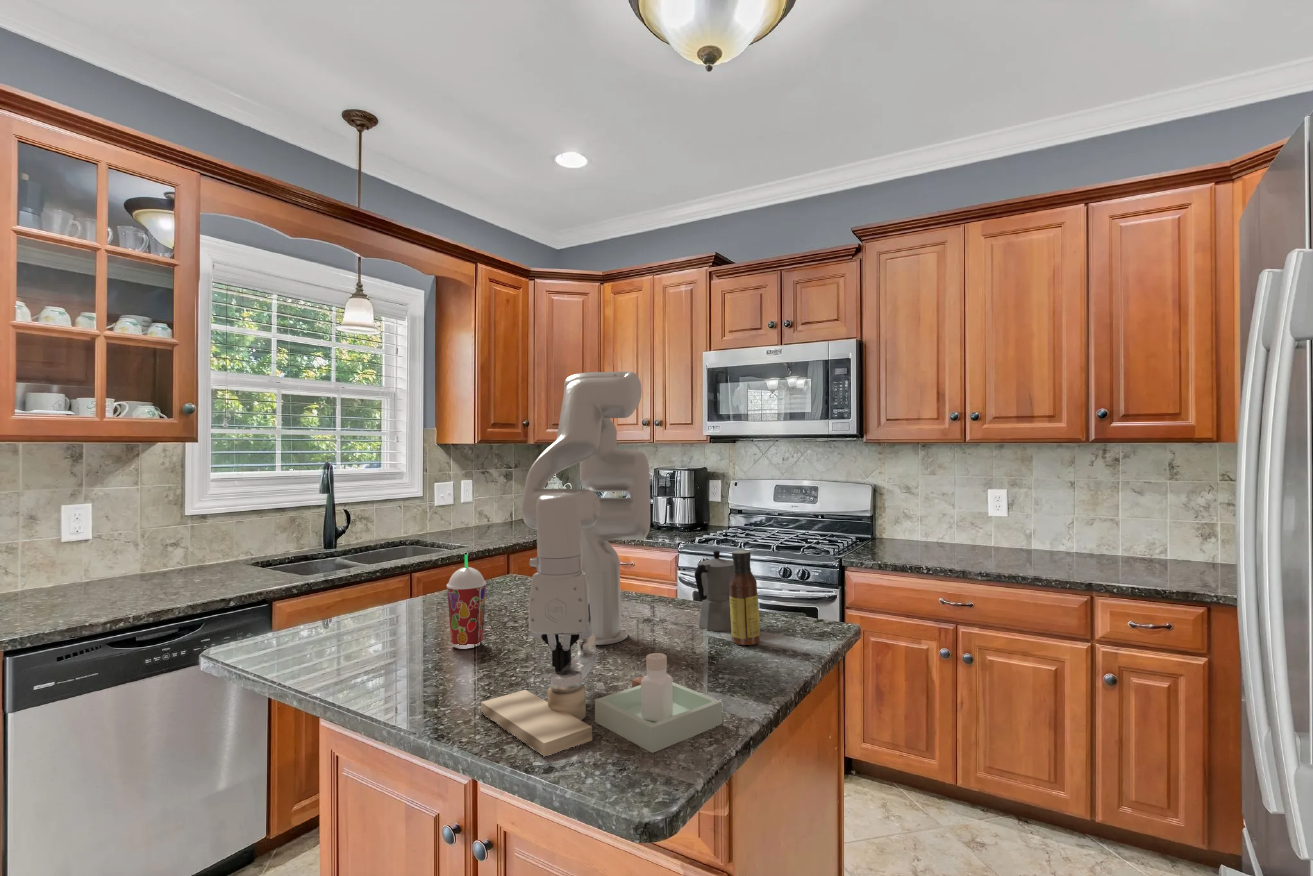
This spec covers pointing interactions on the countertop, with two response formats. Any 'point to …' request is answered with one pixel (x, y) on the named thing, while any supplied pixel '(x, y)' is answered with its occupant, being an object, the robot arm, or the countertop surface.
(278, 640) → the countertop surface
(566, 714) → the base
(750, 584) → the sauce bottle
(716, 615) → the coffeepot
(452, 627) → the smoothie
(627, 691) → the tray
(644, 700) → the salt shaker
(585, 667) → the crank arm
